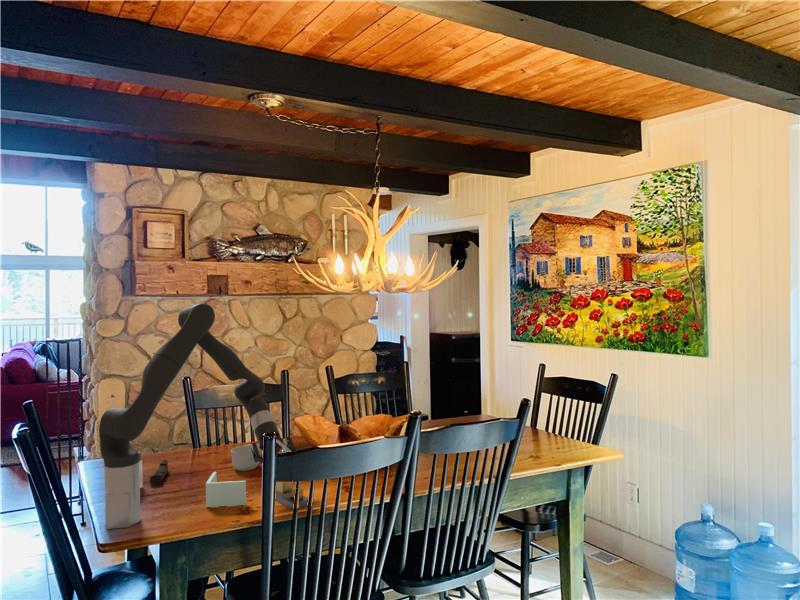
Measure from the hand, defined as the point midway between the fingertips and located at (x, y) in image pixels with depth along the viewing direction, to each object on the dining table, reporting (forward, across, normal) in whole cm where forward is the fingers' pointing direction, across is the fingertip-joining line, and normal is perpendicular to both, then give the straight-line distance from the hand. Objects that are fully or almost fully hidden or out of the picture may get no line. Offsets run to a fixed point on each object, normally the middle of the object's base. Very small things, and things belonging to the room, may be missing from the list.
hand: (281, 468), depth 188 cm
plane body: (+11, 0, +2) cm, 11 cm away
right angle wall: (+1, -14, +13) cm, 19 cm away
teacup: (-20, +5, +34) cm, 40 cm away
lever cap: (+7, 0, +4) cm, 8 cm away
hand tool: (-27, -24, +41) cm, 55 cm away
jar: (-24, -36, +37) cm, 57 cm away
